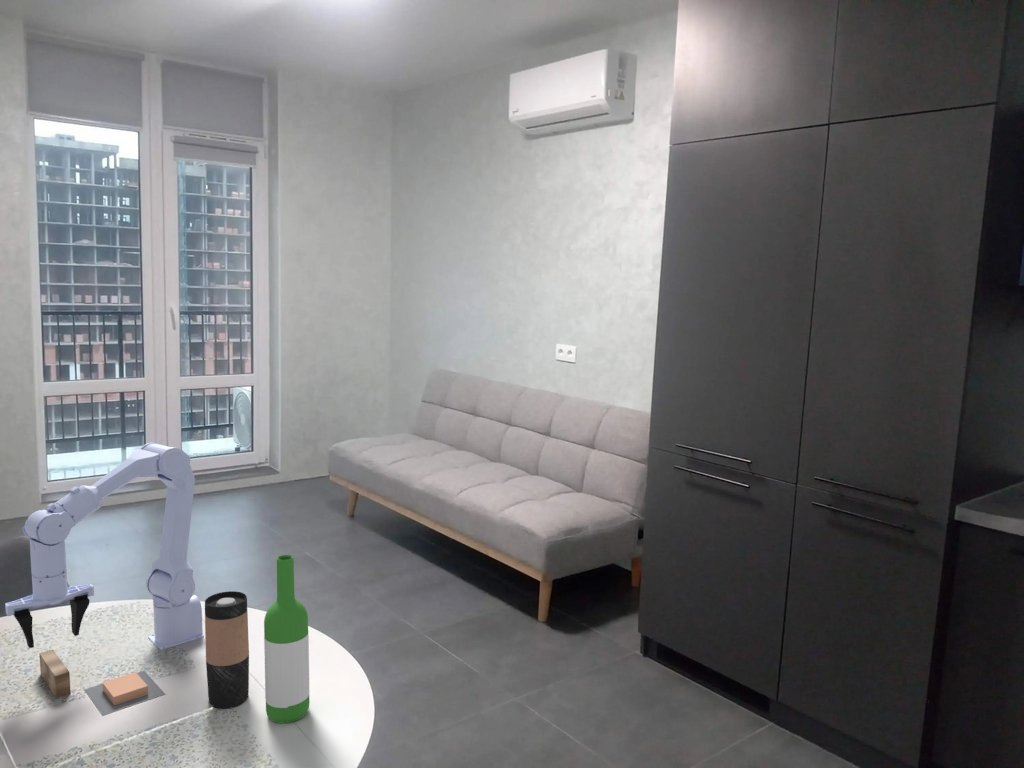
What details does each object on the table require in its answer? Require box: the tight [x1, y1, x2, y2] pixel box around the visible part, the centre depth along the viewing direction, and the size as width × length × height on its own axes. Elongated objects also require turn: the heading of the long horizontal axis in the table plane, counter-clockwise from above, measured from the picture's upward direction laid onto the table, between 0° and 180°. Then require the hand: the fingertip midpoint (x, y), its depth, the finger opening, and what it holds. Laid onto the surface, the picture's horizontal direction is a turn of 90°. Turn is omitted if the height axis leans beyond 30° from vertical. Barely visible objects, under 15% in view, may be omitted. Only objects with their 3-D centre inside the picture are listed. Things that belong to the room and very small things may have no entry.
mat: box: [83, 670, 166, 717], centre depth 145 cm, size 11×12×1 cm
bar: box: [39, 649, 71, 699], centre depth 147 cm, size 12×2×5 cm, turn 44°
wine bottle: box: [263, 554, 310, 724], centre depth 138 cm, size 8×8×30 cm
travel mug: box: [204, 590, 250, 710], centre depth 143 cm, size 8×8×20 cm
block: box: [101, 671, 148, 705], centre depth 145 cm, size 6×2×7 cm
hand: (53, 639), depth 146 cm, fingers open, 7 cm apart
